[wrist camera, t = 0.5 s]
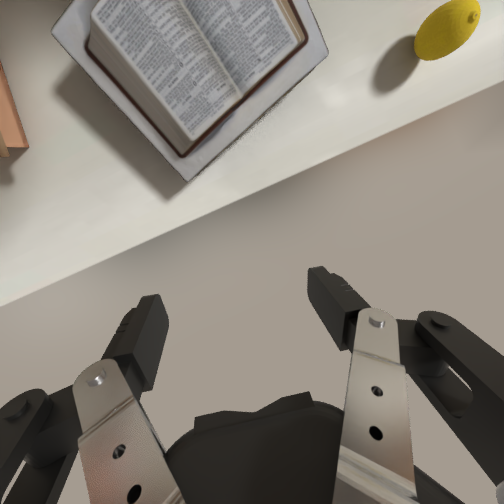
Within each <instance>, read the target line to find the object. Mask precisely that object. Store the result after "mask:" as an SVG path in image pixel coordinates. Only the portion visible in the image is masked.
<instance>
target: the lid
mask: <svg viewBox="0 0 504 504" xmlns="http://www.w3.org/2000/svg"><path fill="white" fill-rule="evenodd" d="M0 157H10V155H9V152H8V150H7V147H6V144H5V142H4V139H3V136H2V134H1V131H0Z"/></svg>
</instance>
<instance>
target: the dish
mask: <svg viewBox="0 0 504 504" xmlns="http://www.w3.org/2000/svg"><path fill="white" fill-rule="evenodd" d="M0 131H1V134H2V136H3V139H4V142H5V144H6V147H29V145H28V142H27V139H26V136H25V133H24V130H23V127H22V124H21V121H20V118H19V115H18V112H17V109H16V106H15V103H14V100H13V97H12V94H11V91H10V88H9V85H8V82H7V79H6V76H5V73H4V70H3V67H2V64H1V61H0Z"/></svg>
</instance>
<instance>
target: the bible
mask: <svg viewBox="0 0 504 504" xmlns="http://www.w3.org/2000/svg"><path fill="white" fill-rule="evenodd" d="M51 33H52V35H53V37H54V38H55V39H56V40H57V41H58V42H59V43H60V45H61V46H62V47H63V48H64V49H65V50H66V51H67V53H68V54H69V55H70V56H71V57H72V58H73V59H74V60H75V61H76V62H77V63H78V64H79V65H80V66H81V67H82V68H83V70H84V71H85V72H86V73H87V74H88V75H89V76H90V78H91V79H92V80H93V81H94V82H95V83H96V84H97V85H98V86H99V88H100V89H101V90H102V91H103V92H105V93H106V95H107V96H108V97H109V98H110V99H111V100H112V101H113V102H114V104H115V105H116V106H117V107H118V108H119V109H120V110H121V111H122V112H123V113H124V114H125V115H126V116H127V117H128V118H129V120H130V121H131V122H132V123H133V124H134V125H135V126H136V127H137V128H138V129H139V131H140V132H141V133H142V134H143V135H144V136H145V137H146V138H147V139H148V140H149V141H150V142H151V143H152V145H153V146H154V147H155V148H156V149H157V150H158V151H159V152H160V153H161V154H162V156H163V157H164V158H165V159H166V161H167V162H168V163H169V164H170V165H171V166H172V167H173V168H174V169H175V170H176V171H177V172H178V173H179V174H180V175H181V177H182V178H183V179H184V180H185V181H186V182H188V181H190V180H191V179H192V178H193V177H194V176H197V175H199V173H200V172H201V171H202V170H203V169H205V168H206V167H207V166H208V165H209V164H210V163H211V162H212V161H213V160H214V159H215V158H217V157H218V156H219V155H221V154H222V153H223V152H224V150H225V149H227V148H228V147H229V146H230V145H232V144H233V143H234V142H235V141H236V140H237V139H238V138H239V137H240V136H242V135H243V134H244V133H245V132H246V131H247V130H248V129H249V127H250V126H252V125H253V124H255V123H256V122H257V121H258V120H259V119H260V118H261V117H262V116H263V115H265V114H266V113H267V112H268V111H269V110H270V109H271V108H272V107H273V106H274V105H275V104H276V103H277V102H279V101H280V100H281V99H282V98H283V97H284V96H285V95H286V94H287V93H289V92H290V91H291V90H292V89H293V88H294V87H295V86H296V85H297V84H298V83H300V82H301V81H302V80H303V79H304V78H305V77H306V76H307V75H308V74H309V73H310V72H311V71H312V70H313V69H314V68H315V67H316V66H317V65H318V64H319V63H320V62H322V61H323V60H324V59H325V58H326V57H327V56H328V54H329V52H328V48H327V46H326V44H325V41H324V38H323V36H322V33H321V31H320V28H319V26H318V23H317V21H316V19H315V16H314V14H313V12H312V10H311V8H310V5H309V3H308V0H73V1H72V2H71V3H70V5H69V6H68V7H67V9H66V10H65V11H64V12H63V14H62V15H61V16H60V18H59V19H58V20H57V22H56V23H55V25H54V26H53V28H52V29H51Z"/></svg>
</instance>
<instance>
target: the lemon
mask: <svg viewBox="0 0 504 504" xmlns="http://www.w3.org/2000/svg"><path fill="white" fill-rule="evenodd" d="M479 18H480V5H479V3H478V1H476V0H451V1H449V2H447V3H445V4H444V5H442V6H440V7H439V8H437V9H436V10H435V11H434V12H433V13H432V14H430V15H429V16H428V17H427V18H426V20H425V21H424V22H423V24H422V25H421V26H420V28H419V30H418V32H417V34H416V37H415V42H414V50H415V53H416V55H417V56H418V57H419V58H420V59H422V60H426V61H428V60H436V59H439V58H442V57H444V56H447V55H448V54H450V53H452V52H453V51H455V50H456V49H457V48H459V47H460V46H461V45H463V44H464V43H465V42H466V41H467V40H468V39H469V37H470V36H471V35H472V33H473V32H474V30H475V28H476V26H477V24H478V22H479Z"/></svg>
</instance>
